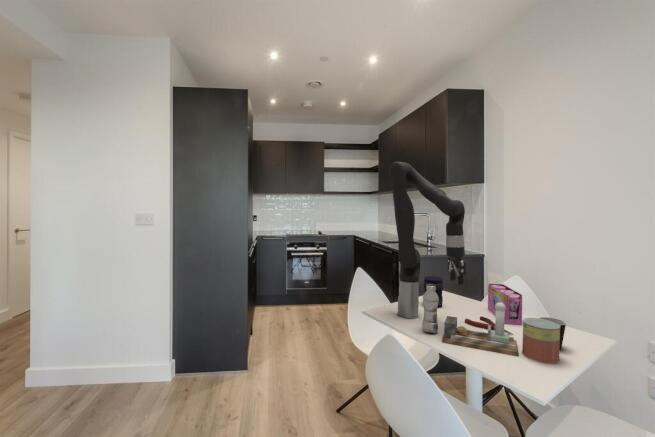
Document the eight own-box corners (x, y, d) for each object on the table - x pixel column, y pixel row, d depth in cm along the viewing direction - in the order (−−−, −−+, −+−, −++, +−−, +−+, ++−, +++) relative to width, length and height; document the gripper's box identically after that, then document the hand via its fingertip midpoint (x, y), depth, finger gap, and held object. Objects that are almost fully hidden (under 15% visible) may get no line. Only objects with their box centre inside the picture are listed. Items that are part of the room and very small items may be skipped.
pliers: (500, 339, 133) (500, 333, 133) (463, 323, 151) (463, 317, 151) (520, 336, 137) (520, 329, 137) (481, 320, 156) (481, 315, 156)
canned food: (528, 346, 125) (529, 315, 125) (563, 357, 117) (564, 323, 116) (517, 355, 118) (518, 322, 117) (554, 366, 109) (555, 331, 109)
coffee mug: (566, 353, 119) (566, 326, 119) (538, 348, 124) (538, 322, 124) (563, 342, 129) (564, 317, 129) (537, 337, 134) (538, 313, 134)
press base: (442, 342, 128) (442, 323, 128) (445, 332, 139) (446, 314, 139) (518, 356, 117) (519, 335, 117) (516, 344, 128) (516, 325, 127)
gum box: (524, 326, 148) (524, 296, 147) (505, 325, 149) (506, 295, 148) (503, 309, 171) (503, 284, 171) (487, 308, 173) (487, 283, 172)
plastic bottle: (430, 336, 135) (431, 287, 134) (418, 330, 141) (419, 284, 140) (441, 333, 138) (442, 286, 137) (429, 328, 144) (430, 282, 143)
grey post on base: (487, 343, 124) (488, 303, 123) (487, 337, 130) (488, 299, 129) (508, 346, 120) (509, 306, 120) (507, 340, 127) (508, 301, 126)
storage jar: (420, 303, 182) (421, 276, 181) (437, 302, 183) (438, 276, 182) (428, 308, 172) (428, 280, 171) (445, 308, 173) (446, 280, 172)
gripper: (440, 244, 151) (442, 279, 151) (453, 247, 136) (454, 286, 137) (457, 243, 151) (458, 278, 151) (470, 246, 136) (472, 285, 137)
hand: (456, 282), depth 144 cm, fingers open, 8 cm apart
